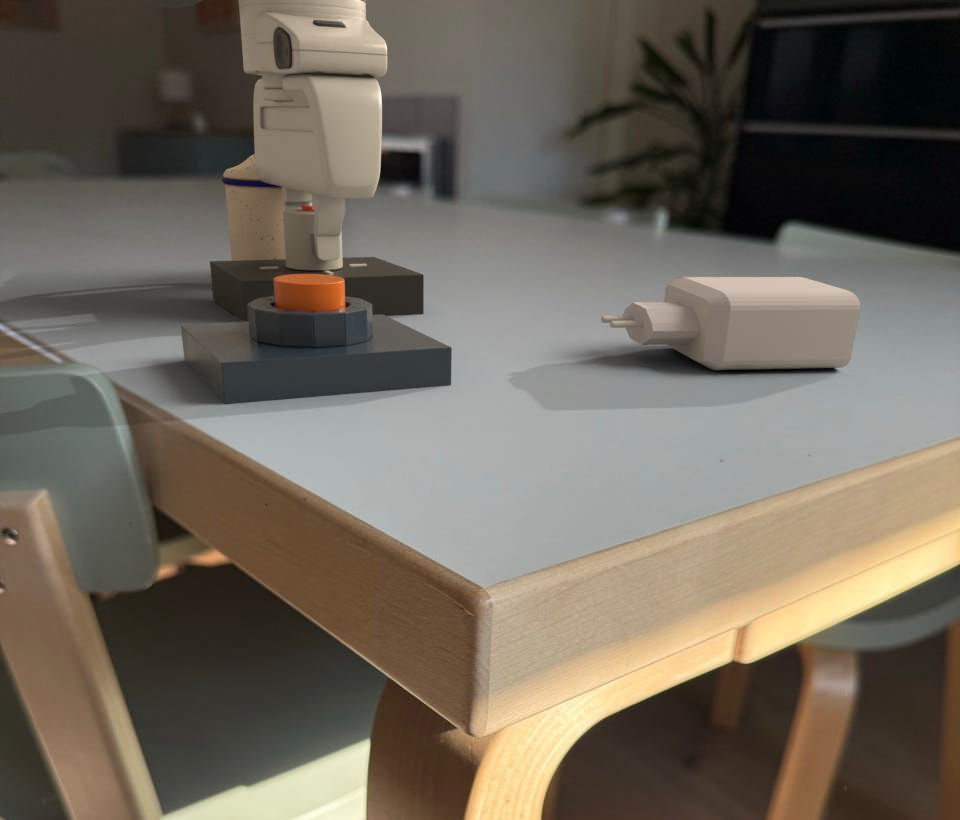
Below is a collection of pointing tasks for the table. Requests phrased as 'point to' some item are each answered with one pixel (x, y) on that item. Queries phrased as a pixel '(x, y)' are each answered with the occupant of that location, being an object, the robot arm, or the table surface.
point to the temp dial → (304, 242)
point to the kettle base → (363, 275)
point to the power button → (309, 292)
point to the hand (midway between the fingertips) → (314, 254)
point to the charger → (749, 322)
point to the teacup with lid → (254, 214)
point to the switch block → (312, 353)
